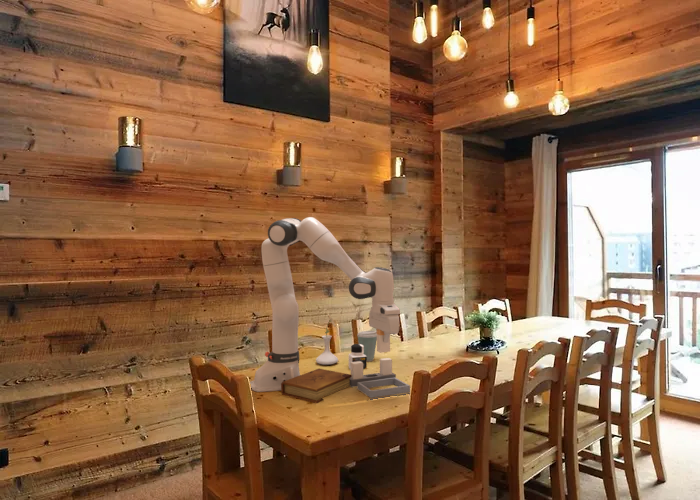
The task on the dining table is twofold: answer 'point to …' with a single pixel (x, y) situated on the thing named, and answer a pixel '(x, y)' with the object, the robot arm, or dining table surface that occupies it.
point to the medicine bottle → (357, 355)
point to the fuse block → (370, 378)
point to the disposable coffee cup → (368, 343)
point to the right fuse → (385, 366)
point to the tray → (383, 392)
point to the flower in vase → (327, 349)
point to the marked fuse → (380, 344)
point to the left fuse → (357, 370)
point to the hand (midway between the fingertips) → (383, 341)
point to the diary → (315, 385)
